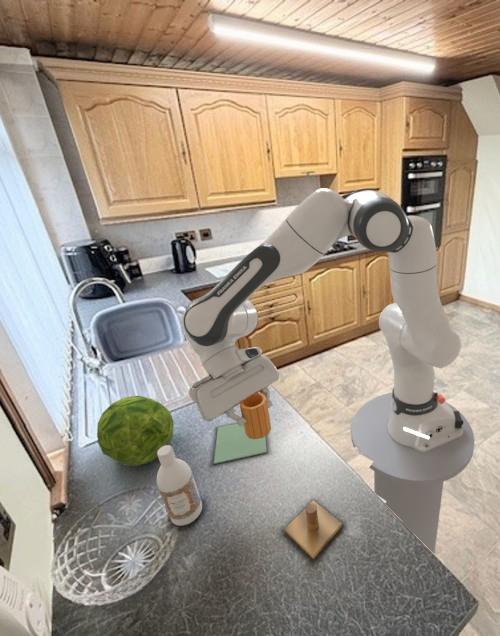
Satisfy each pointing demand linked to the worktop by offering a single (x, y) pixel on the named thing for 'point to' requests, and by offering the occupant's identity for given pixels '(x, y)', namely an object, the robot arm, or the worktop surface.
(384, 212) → the robot arm
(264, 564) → the worktop surface
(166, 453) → the bath foam
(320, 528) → the post
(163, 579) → the worktop surface
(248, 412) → the orange ribbed tube
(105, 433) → the lettuce
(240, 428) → the mat
